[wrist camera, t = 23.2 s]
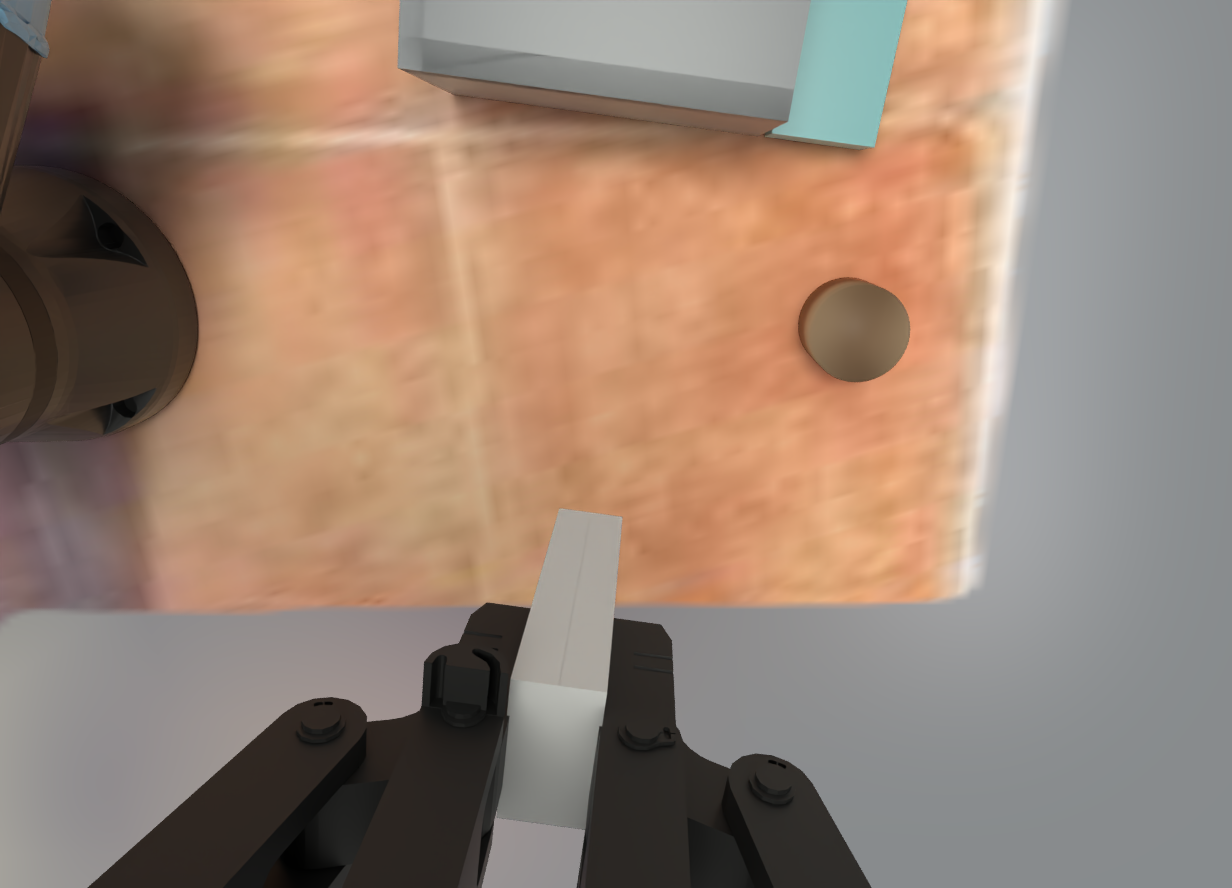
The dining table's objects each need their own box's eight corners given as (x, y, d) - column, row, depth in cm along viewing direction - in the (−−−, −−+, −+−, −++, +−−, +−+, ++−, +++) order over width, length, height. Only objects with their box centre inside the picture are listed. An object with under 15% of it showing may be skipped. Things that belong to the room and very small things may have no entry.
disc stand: (790, 360, 43) (801, 375, 40) (808, 271, 41) (822, 278, 38) (877, 372, 43) (896, 388, 40) (899, 284, 41) (921, 292, 38)
